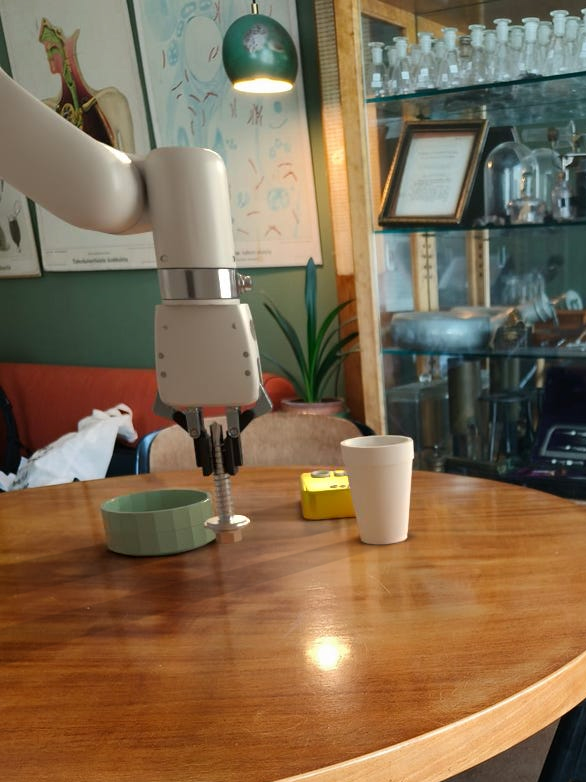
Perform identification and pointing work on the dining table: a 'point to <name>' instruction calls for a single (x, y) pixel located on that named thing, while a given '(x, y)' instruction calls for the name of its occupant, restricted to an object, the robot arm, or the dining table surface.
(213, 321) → the robot arm
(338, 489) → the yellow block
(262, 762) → the dining table surface
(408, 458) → the foam cup
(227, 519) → the screw
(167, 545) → the bowl
